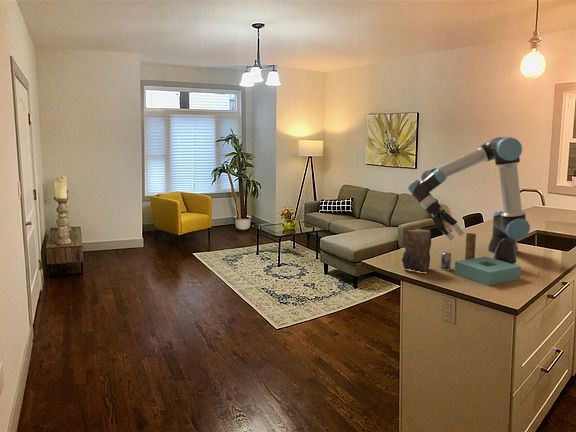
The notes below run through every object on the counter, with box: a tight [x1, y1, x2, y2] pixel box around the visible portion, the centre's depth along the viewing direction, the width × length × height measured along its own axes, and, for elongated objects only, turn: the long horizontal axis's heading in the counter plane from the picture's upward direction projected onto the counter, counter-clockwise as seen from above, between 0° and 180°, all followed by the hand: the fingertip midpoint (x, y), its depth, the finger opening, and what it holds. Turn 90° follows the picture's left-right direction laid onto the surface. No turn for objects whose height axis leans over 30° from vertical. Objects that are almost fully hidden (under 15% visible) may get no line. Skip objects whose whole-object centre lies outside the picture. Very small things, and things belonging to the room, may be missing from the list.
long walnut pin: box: [464, 232, 477, 260], centre depth 231 cm, size 4×4×16 cm
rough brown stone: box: [401, 228, 432, 273], centre depth 224 cm, size 13×13×20 cm
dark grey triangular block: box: [493, 238, 517, 265], centre depth 225 cm, size 10×10×15 cm
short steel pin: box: [440, 251, 452, 270], centre depth 225 cm, size 4×4×8 cm
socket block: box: [454, 256, 522, 286], centre depth 213 cm, size 20×20×6 cm
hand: (457, 236), depth 234 cm, fingers open, 13 cm apart
